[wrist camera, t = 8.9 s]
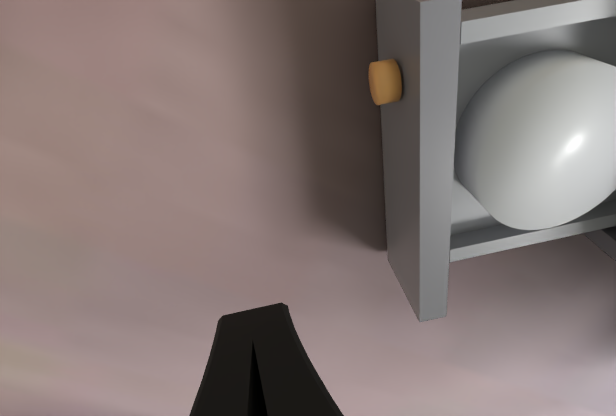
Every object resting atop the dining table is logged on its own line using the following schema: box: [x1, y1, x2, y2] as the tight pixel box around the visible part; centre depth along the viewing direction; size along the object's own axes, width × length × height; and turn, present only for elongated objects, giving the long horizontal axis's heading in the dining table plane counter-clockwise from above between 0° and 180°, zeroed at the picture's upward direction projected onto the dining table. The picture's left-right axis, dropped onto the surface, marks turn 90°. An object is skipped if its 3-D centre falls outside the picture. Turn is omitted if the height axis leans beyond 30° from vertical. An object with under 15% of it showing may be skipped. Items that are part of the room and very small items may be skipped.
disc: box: [454, 50, 616, 230], centre depth 15 cm, size 6×6×2 cm
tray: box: [369, 0, 616, 322], centre depth 15 cm, size 11×13×4 cm
